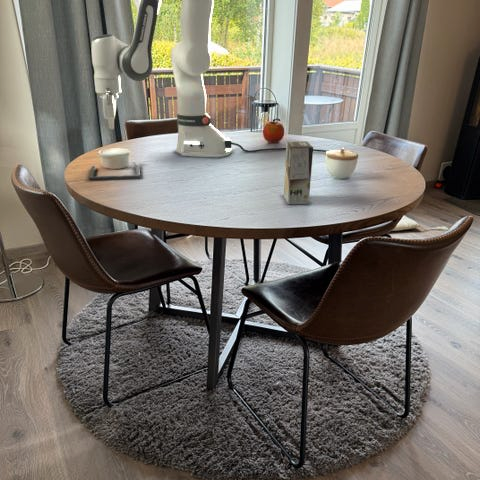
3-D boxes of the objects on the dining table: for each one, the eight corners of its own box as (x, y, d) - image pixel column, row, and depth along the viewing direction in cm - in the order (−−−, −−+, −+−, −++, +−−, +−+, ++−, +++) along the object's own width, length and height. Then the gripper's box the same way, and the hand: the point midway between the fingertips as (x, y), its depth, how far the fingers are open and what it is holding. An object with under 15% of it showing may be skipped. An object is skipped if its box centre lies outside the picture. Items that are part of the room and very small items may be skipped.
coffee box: (309, 204, 144) (314, 147, 136) (287, 204, 144) (291, 147, 135) (303, 195, 152) (307, 140, 144) (282, 195, 152) (285, 140, 143)
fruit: (272, 138, 224) (273, 115, 219) (288, 142, 218) (289, 118, 213) (257, 141, 218) (258, 117, 213) (273, 145, 212) (274, 120, 207)
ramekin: (97, 163, 182) (95, 148, 179) (128, 161, 186) (126, 146, 183) (103, 171, 173) (101, 155, 170) (134, 168, 177) (133, 153, 174)
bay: (92, 169, 176) (91, 166, 175) (139, 167, 178) (138, 164, 178) (89, 180, 163) (89, 177, 162) (140, 178, 166) (139, 175, 165)
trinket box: (357, 174, 174) (361, 146, 169) (353, 182, 165) (356, 153, 160) (327, 171, 177) (329, 143, 172) (321, 178, 168) (324, 150, 163)
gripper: (116, 90, 167) (120, 133, 174) (117, 84, 184) (120, 123, 191) (97, 90, 166) (101, 133, 173) (100, 84, 183) (104, 123, 190)
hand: (111, 128), depth 182 cm, fingers closed
